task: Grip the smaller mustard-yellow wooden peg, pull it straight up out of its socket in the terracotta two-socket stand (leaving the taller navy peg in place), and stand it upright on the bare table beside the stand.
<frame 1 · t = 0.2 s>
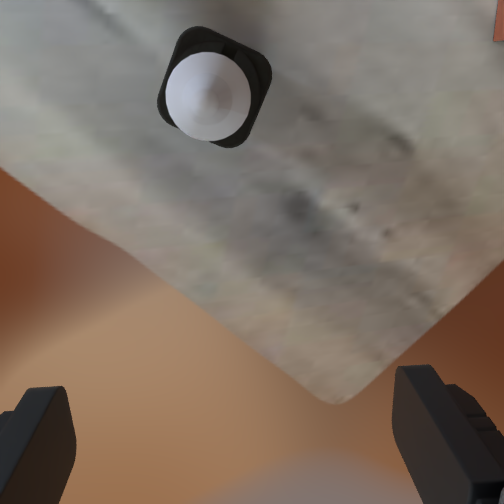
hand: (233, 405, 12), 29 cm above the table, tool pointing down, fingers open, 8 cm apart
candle: (218, 84, 37), on the table
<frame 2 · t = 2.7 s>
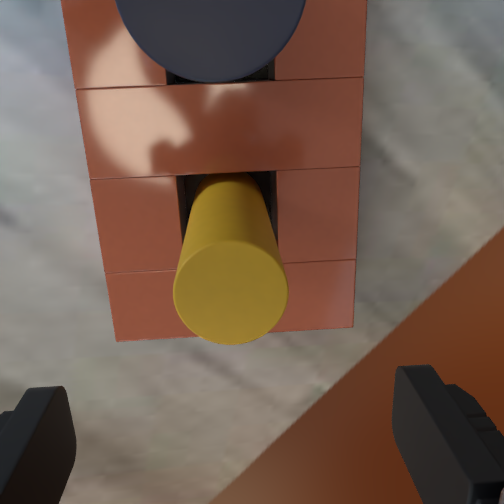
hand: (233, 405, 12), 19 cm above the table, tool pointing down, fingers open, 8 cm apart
peg stand: (223, 121, 28), on the table
yellow peg: (228, 202, 29), resting in peg stand
navy peg: (218, 30, 26), resting in peg stand
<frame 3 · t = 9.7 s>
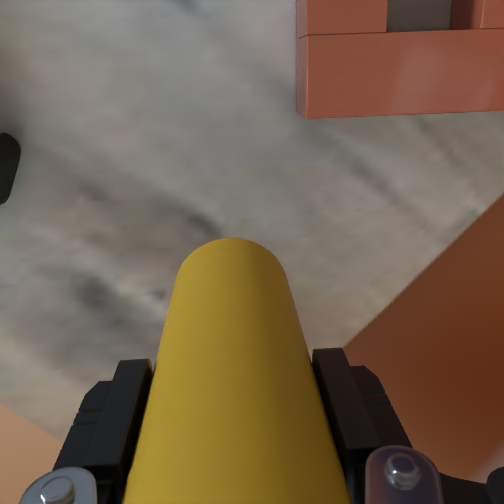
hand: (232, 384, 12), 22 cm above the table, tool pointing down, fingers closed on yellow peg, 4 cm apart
yellow peg: (231, 290, 18), point 16 cm above the table, touching gripper
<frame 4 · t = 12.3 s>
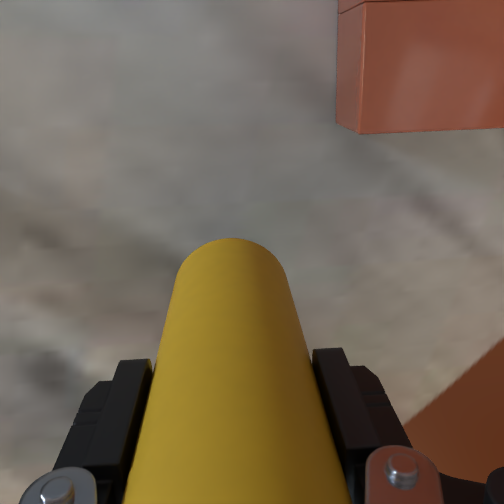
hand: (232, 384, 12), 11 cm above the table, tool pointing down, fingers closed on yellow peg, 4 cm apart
yellow peg: (231, 290, 18), point 6 cm above the table, touching gripper
when the fingers open (6 cm above the table, at t = 14.3 s): yellow peg stays where it is, on the table.
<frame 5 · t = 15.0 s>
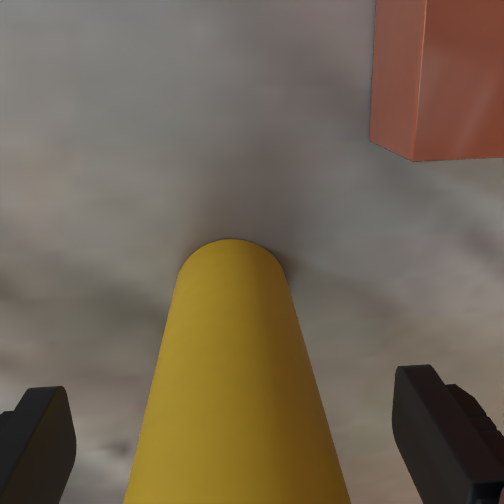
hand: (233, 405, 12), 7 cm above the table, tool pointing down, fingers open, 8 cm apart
yellow peg: (231, 290, 18), on the table
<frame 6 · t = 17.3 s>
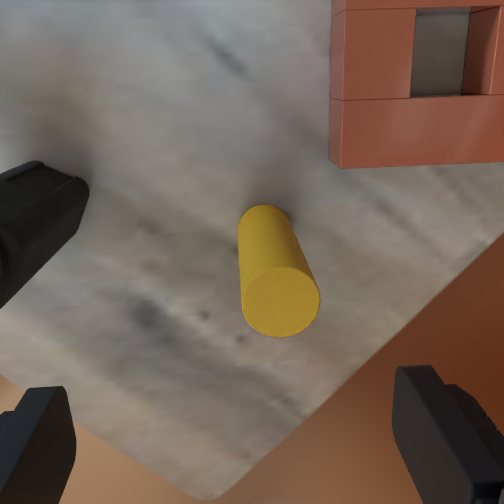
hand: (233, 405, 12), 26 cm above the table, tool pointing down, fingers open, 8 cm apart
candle: (51, 199, 36), on the table
yellow peg: (264, 230, 38), on the table
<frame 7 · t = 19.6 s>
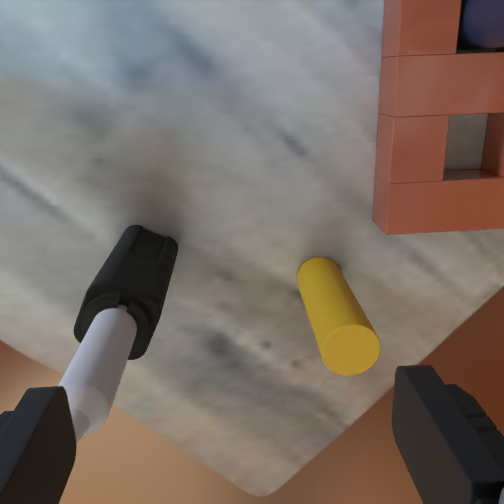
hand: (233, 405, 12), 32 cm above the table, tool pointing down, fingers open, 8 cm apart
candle: (146, 254, 44), on the table
peg stand: (462, 82, 40), on the table
yellow peg: (318, 276, 46), on the table
navy peg: (469, 19, 39), resting in peg stand
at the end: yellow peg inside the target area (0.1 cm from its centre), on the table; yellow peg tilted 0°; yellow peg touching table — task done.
